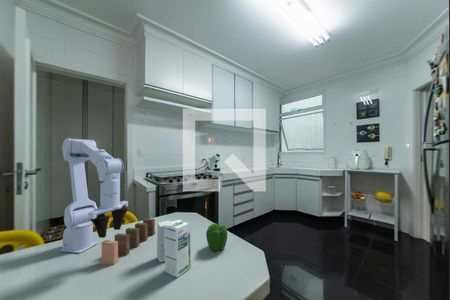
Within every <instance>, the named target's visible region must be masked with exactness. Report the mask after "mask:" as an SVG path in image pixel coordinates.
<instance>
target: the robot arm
mask: <svg viewBox="0 0 450 300" xmlns="http://www.w3.org/2000/svg"><path fill="white" fill-rule="evenodd" d="M62 157H63V160H64V161H66V162H68V166H69V172H70V173H69V174H70V182H71V193H72V202H71V203H70V204H68V205H67V206H66V207H65V209H64V216H63V222H64V226H65V229H64V230H63V232H62V233H63V234H62V248H61V249H59V251H60V252H66V253H75V254H81V253H83V252H85V251H86V250H88V249H90V248H92V247H94V246H96V245H97V244H98V243H99V241H93V239H94V238H93V237H94V236H93V235H94V227H95V230H96V231H97V235H98V238H100V239H104V238H106V237H107V231H108V230H107V229H108V223H109V220H110V217H112V222H113V224H112V225H113V230H114V231H115V230H116V231H119V230H121V228H122V223H123V222H124V221H123V220H124V217H125V215H126V213H127V212H128V206H129V201H128V200H122V201H121V174H123V172H124V169H125V165H124V161H123V159H121V158H119V157H117V158H114V157H113V156H112V155H111V154H109V153H108V152H106V149H101V148H100V149H99V148H98V147H97V143H96V141H95V140H94V139H81V138H80V139H79V138H70V137H67V138H65V139H64V140H63V143H62ZM86 161H90V163H92V164H93V165H94V166H95V167H96V170H97V171H96V172H97V174H98V175H97V176H98V181H100V193H99V195H100V202H99V203H100V205H99V206H100V207H97V204H96V202H95V201H94V200H91V199H90V198H89V194H88V191H89V190H88V184H87V175H86V167H85V162H86ZM109 213H111V215H112V216H109V215H106V214H109Z"/></svg>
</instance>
